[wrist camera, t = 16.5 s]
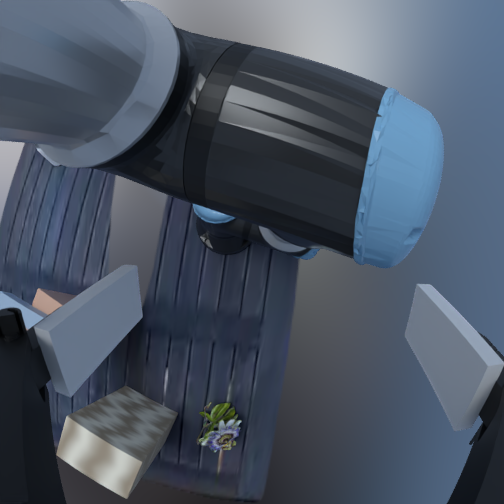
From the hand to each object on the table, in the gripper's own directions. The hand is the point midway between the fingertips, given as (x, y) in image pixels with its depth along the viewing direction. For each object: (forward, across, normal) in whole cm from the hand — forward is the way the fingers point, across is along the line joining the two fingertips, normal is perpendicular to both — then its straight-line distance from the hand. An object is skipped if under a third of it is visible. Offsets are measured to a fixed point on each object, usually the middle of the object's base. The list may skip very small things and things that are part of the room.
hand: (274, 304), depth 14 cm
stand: (+37, -31, -53) cm, 72 cm away
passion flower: (+40, -12, -54) cm, 68 cm away
